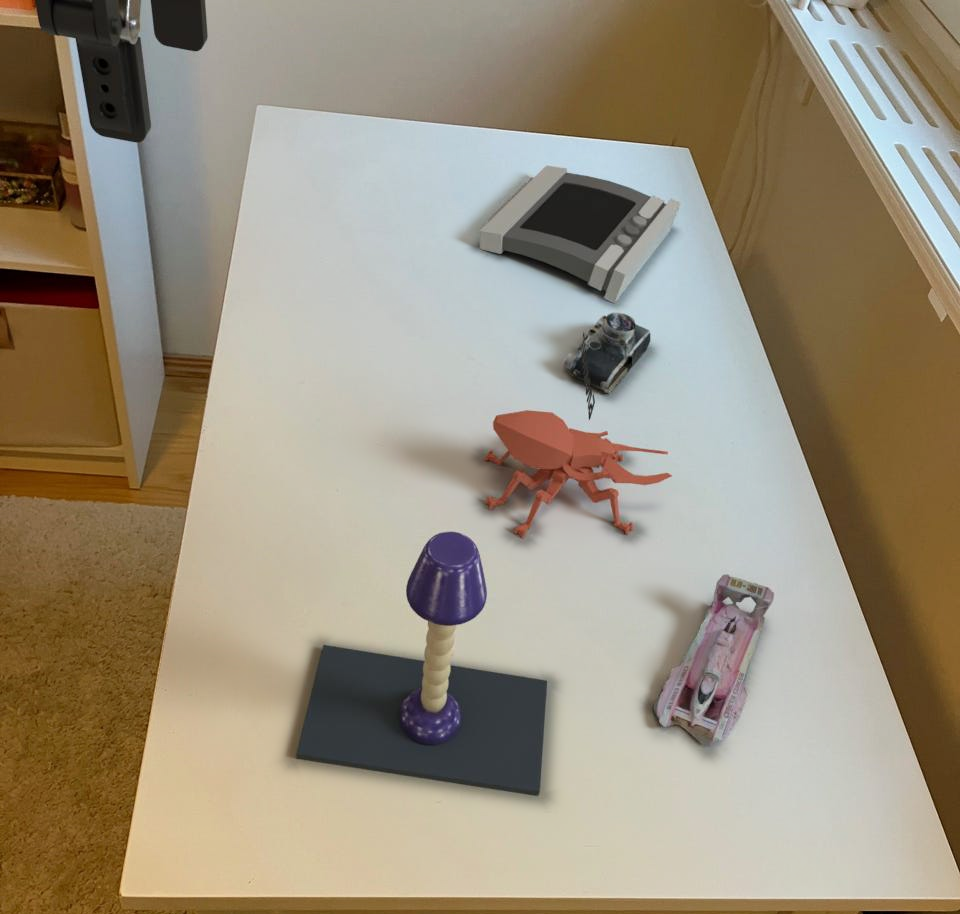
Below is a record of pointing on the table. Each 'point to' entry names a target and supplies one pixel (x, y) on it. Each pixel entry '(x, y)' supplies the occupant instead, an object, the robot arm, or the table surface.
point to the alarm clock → (582, 227)
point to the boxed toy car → (716, 664)
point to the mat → (385, 747)
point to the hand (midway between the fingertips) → (153, 88)
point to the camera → (609, 351)
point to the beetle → (563, 457)
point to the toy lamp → (441, 630)
